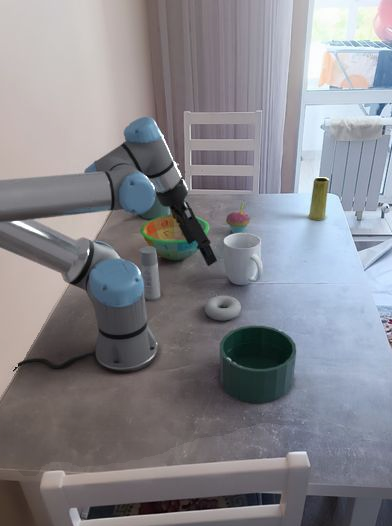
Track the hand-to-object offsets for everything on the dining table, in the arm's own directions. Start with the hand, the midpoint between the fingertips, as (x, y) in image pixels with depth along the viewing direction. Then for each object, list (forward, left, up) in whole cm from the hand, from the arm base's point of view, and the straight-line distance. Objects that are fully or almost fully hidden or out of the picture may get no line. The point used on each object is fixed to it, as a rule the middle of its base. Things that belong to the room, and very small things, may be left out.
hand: (202, 251), depth 129 cm
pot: (-8, -35, -16) cm, 39 cm away
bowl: (+8, +30, -16) cm, 35 cm away
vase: (+68, +27, -16) cm, 75 cm away
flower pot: (+19, +67, -16) cm, 71 cm away
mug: (+16, +3, -16) cm, 23 cm away
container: (-11, +11, -16) cm, 22 cm away
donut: (+1, -8, -16) cm, 18 cm away
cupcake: (+36, +34, -16) cm, 52 cm away
